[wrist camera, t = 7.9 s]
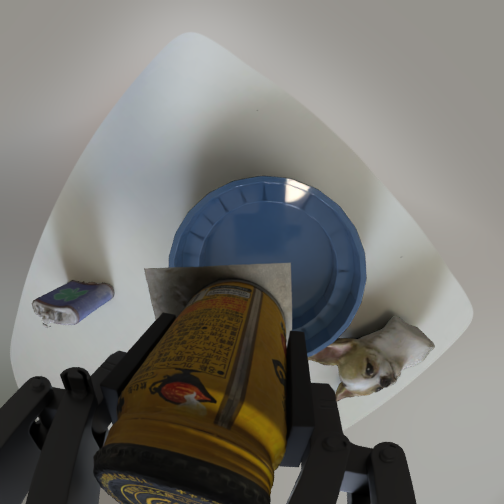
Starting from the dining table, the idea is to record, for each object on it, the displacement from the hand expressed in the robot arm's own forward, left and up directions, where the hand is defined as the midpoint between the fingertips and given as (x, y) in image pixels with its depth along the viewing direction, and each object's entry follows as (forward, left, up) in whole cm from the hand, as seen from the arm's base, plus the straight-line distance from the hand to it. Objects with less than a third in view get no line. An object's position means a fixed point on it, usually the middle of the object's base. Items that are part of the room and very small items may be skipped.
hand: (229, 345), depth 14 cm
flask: (+7, -24, -18) cm, 31 cm away
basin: (0, +1, -18) cm, 18 cm away
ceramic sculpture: (+10, +15, -18) cm, 26 cm away
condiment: (0, -1, -2) cm, 2 cm away
